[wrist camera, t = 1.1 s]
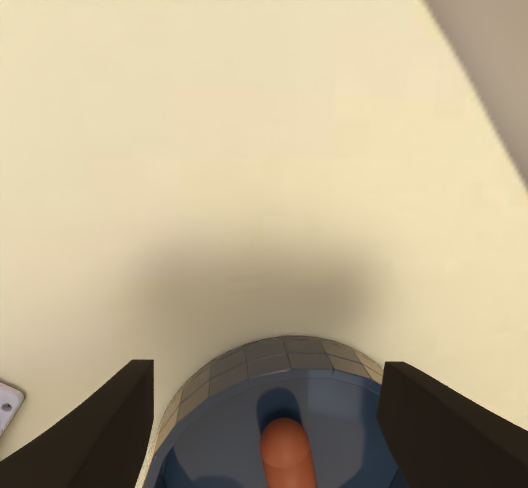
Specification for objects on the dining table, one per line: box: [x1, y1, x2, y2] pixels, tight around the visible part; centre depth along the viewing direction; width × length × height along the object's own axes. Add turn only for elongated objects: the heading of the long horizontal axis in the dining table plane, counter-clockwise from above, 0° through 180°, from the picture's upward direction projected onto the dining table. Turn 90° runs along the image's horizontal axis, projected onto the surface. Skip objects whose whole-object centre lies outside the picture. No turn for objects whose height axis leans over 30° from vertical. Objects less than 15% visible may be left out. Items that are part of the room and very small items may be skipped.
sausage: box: [260, 418, 318, 488], centre depth 21 cm, size 8×3×3 cm, turn 10°
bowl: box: [142, 336, 410, 488], centre depth 21 cm, size 17×17×4 cm
